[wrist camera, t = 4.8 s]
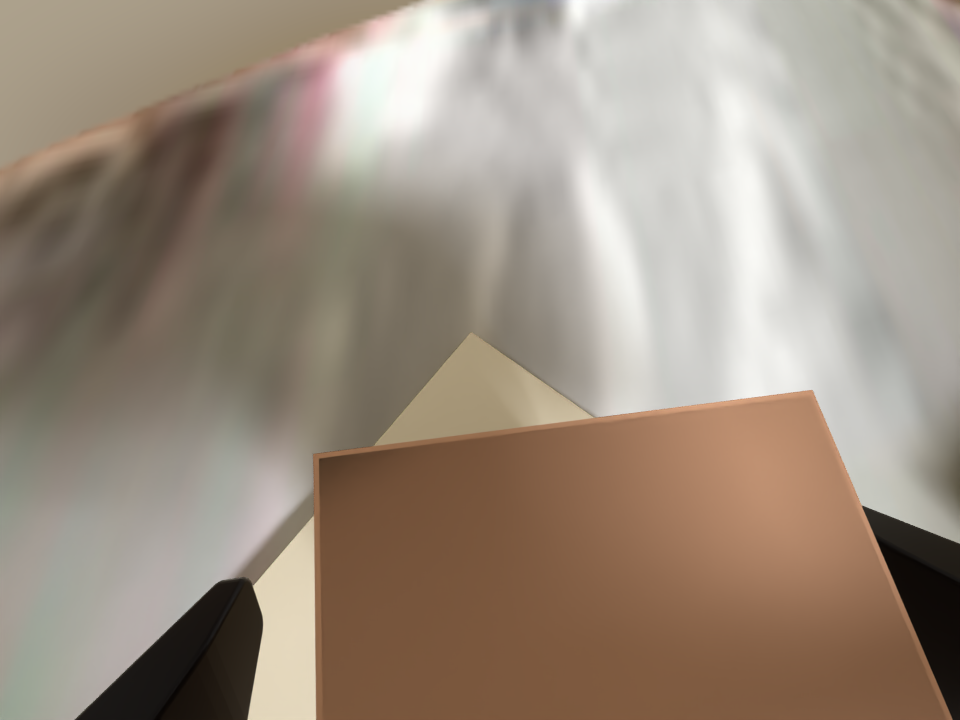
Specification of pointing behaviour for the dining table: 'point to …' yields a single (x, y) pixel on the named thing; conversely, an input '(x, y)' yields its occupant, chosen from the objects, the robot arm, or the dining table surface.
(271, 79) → the dining table surface
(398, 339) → the dining table surface
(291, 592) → the placemat
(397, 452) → the walnut block
